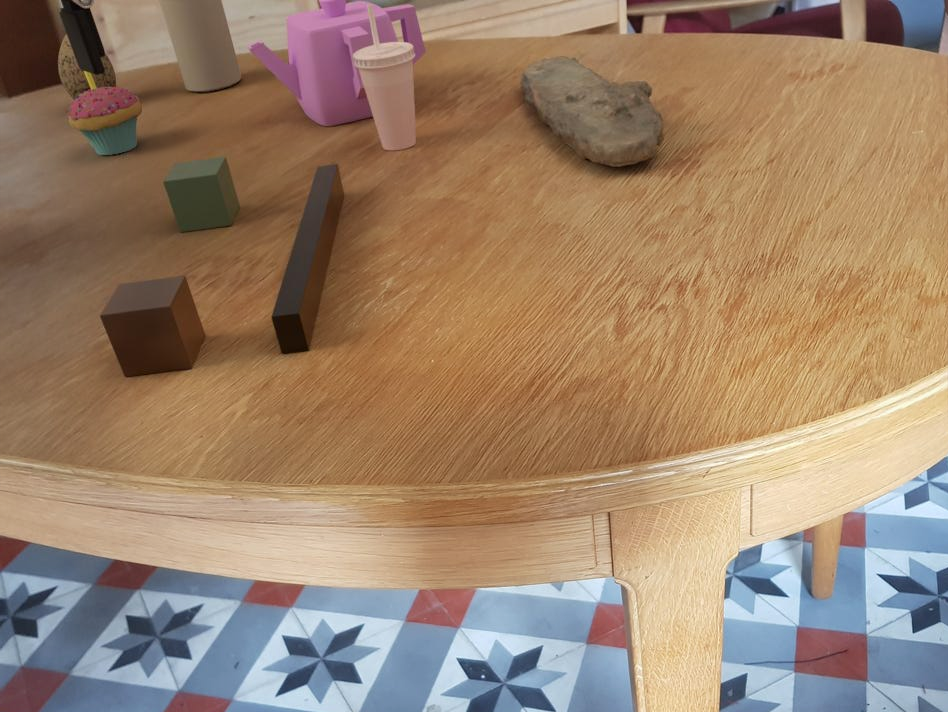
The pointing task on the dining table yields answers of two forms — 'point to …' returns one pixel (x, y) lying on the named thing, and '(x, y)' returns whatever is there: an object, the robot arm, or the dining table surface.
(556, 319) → the dining table surface
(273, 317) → the rail
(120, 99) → the cupcake
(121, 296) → the walnut block
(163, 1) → the travel mug
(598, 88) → the long grey stone
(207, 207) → the green block
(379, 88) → the smoothie
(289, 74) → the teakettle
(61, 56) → the decorative egg
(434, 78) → the dining table surface
